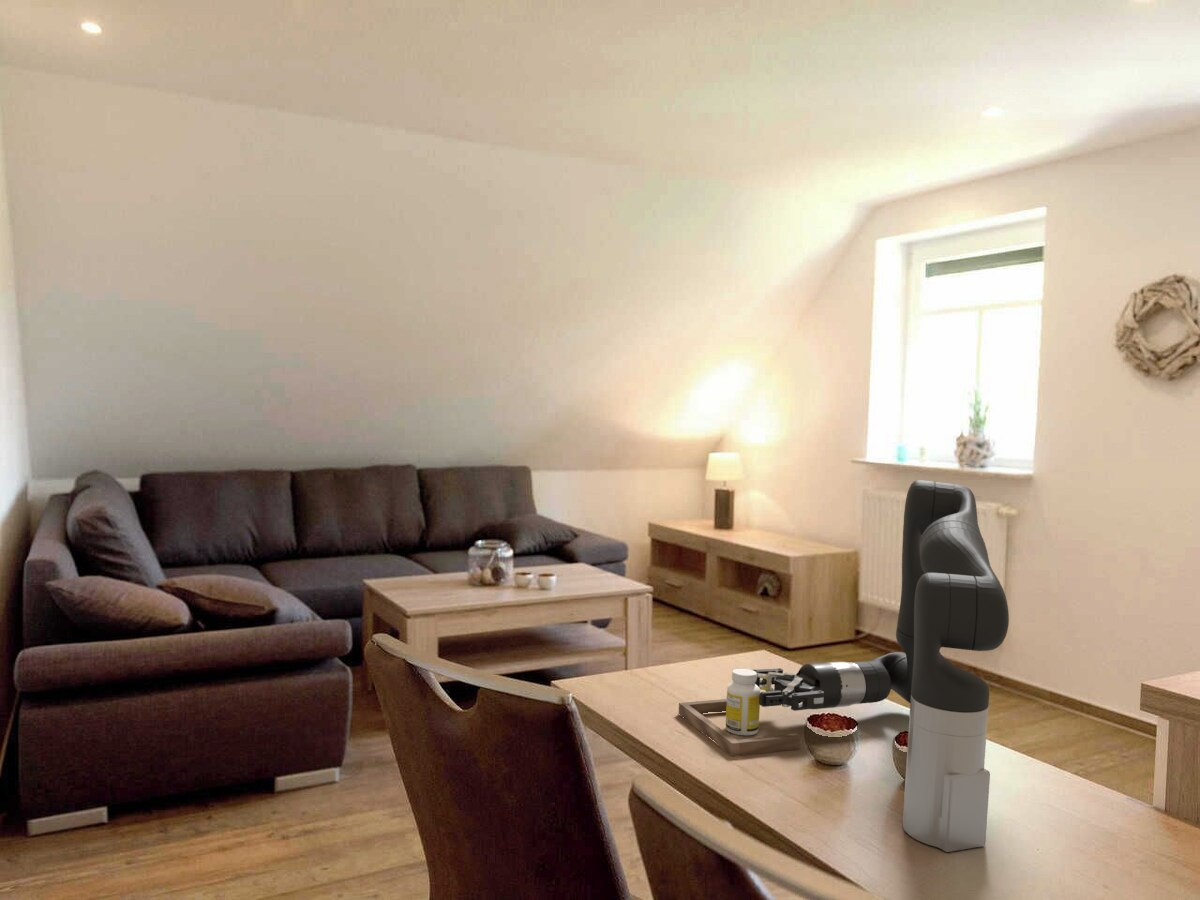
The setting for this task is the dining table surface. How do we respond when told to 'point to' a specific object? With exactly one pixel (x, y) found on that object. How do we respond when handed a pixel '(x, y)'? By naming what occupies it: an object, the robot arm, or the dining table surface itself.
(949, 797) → the robot arm
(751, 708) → the supplement bottle
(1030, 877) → the dining table surface
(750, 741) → the walnut tray
